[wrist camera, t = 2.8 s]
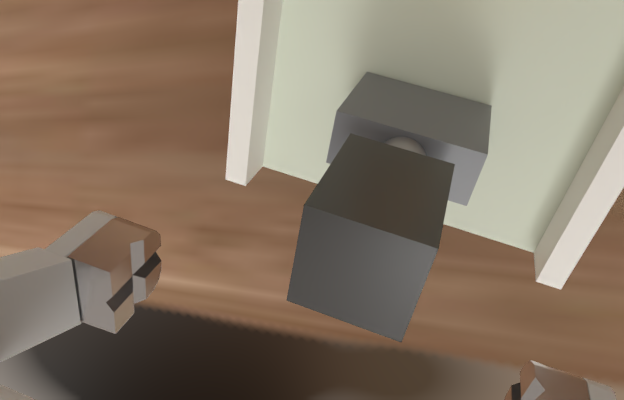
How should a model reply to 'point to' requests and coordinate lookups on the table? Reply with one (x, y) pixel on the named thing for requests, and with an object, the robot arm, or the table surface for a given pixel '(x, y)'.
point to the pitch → (456, 81)
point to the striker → (386, 201)
